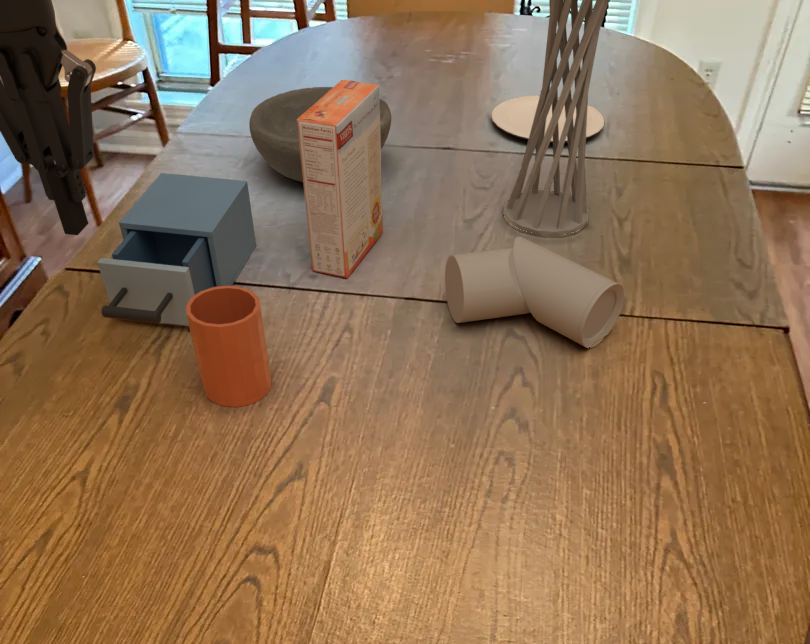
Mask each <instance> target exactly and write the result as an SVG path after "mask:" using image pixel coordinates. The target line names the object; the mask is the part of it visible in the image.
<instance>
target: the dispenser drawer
mask: <svg viewBox="0 0 810 644" xmlns="http://www.w3.org/2000/svg"><path fill="white" fill-rule="evenodd" d="M111 257H112V258H107V257H100V258H99V260H98V261H97V266H98V269H99V272H100V276H101V279H102V282H103V285H104V290H105V292H106V295H107V299H108V302H109V304H108V305H103V306H102V307H101V315H102V317H103V318H107V319H116V320H123V321H133V322H142V323H150V324H157V325H158V324H167V325H176V326H185V327H189V323H188V319H187V314H186V305H187V303H188V302H189V300H190V299H191V297H193V296H194V295H196V294H197V293H199V292H200V291H203V290H206V289H209V288H212V287H216V280H215V275H214V270H213V265H212V259H211V254H210V249H209V243H208V238H207V237H201V236H192V235H182V234H173V233H163V232H153V231H144V230H134V229H132V230H131V231H130V233H129V234H128V235H127V236H126V237H125V239H124V240H123V239H122V241H120V243H119V245H118V246H117V247H116V248H115V249H114V251H113V252H112V253H111Z"/></svg>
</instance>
